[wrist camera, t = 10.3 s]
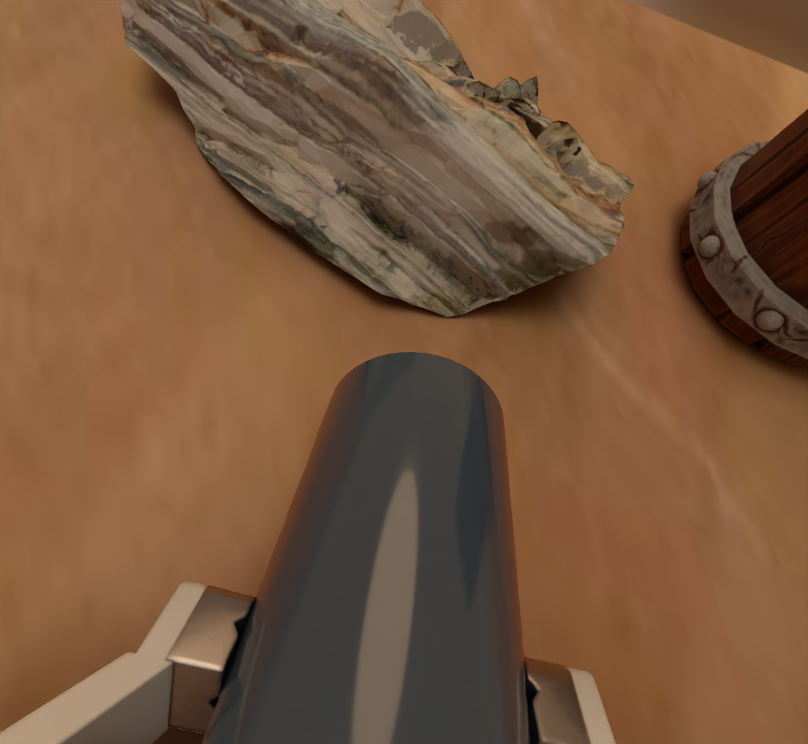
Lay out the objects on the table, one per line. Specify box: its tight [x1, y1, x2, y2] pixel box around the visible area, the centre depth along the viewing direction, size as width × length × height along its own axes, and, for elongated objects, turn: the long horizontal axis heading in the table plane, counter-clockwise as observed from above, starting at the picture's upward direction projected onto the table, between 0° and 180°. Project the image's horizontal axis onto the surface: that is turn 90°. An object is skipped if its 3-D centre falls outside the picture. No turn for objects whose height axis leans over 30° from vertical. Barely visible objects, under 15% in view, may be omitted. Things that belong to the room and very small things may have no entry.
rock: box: [119, 0, 633, 317], centre depth 20 cm, size 23×7×15 cm
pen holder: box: [201, 352, 531, 744], centre depth 11 cm, size 6×6×10 cm
